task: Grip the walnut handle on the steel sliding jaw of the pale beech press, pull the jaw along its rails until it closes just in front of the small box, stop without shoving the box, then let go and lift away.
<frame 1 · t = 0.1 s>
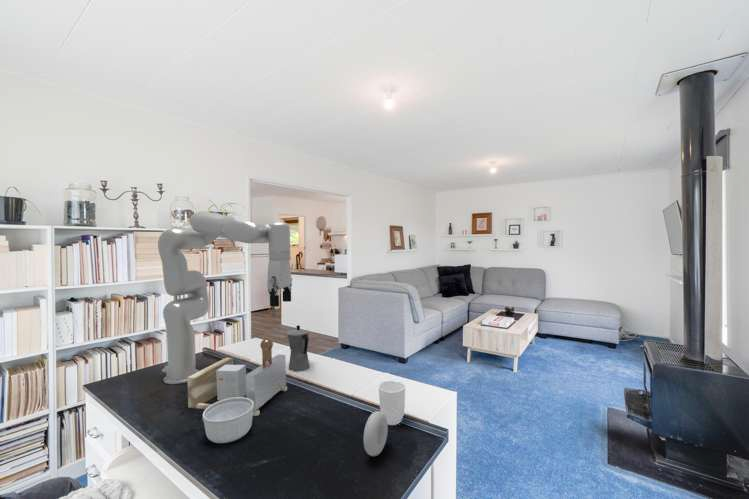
hand: (281, 303, 118), 31 cm above the counter, tool pointing down, fingers open, 9 cm apart
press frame: (242, 398, 112), on the counter
small box: (232, 397, 113), resting in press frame
light grey round disc: (376, 453, 82), on the counter
coffeepot: (300, 368, 138), on the counter
ramekin: (229, 433, 92), on the counter
sliding jaw: (267, 367, 109), point 11 cm above the counter, slide at 0.0 cm
white cup: (392, 420, 97), on the counter
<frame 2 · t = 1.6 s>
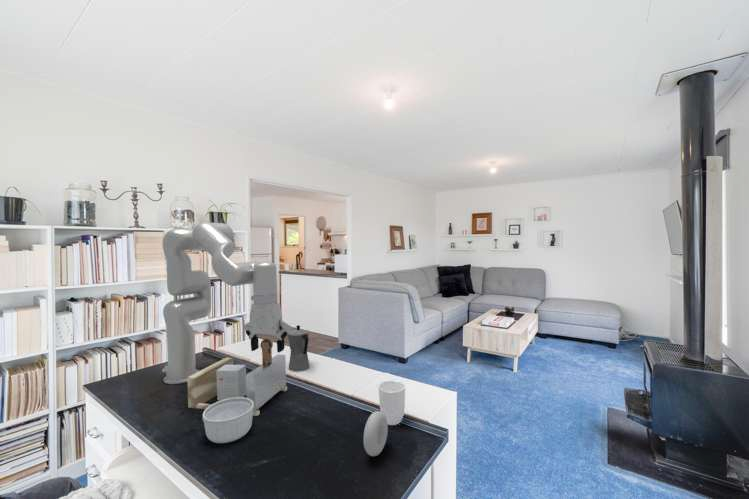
hand: (267, 350, 109), 17 cm above the counter, tool pointing down, fingers open, 9 cm apart
nothing on the counter moved.
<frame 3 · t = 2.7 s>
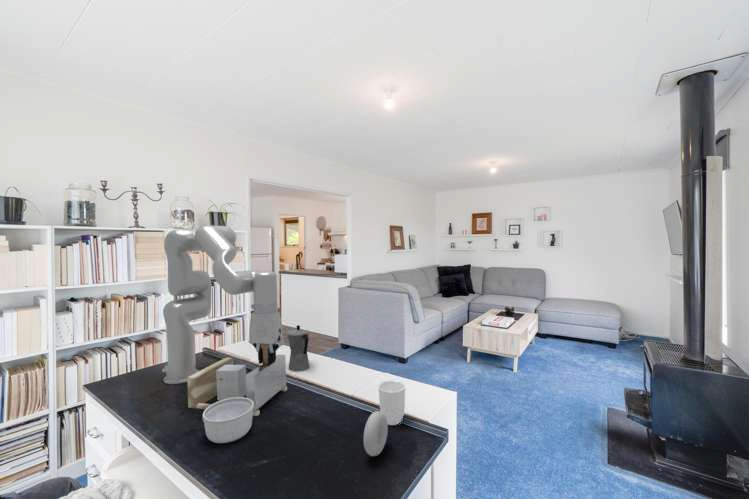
hand: (267, 362, 109), 13 cm above the counter, tool pointing down, fingers closed on sliding jaw, 3 cm apart
sliding jaw: (267, 367, 109), point 11 cm above the counter, slide at 0.0 cm, touching gripper
everything else where it was.
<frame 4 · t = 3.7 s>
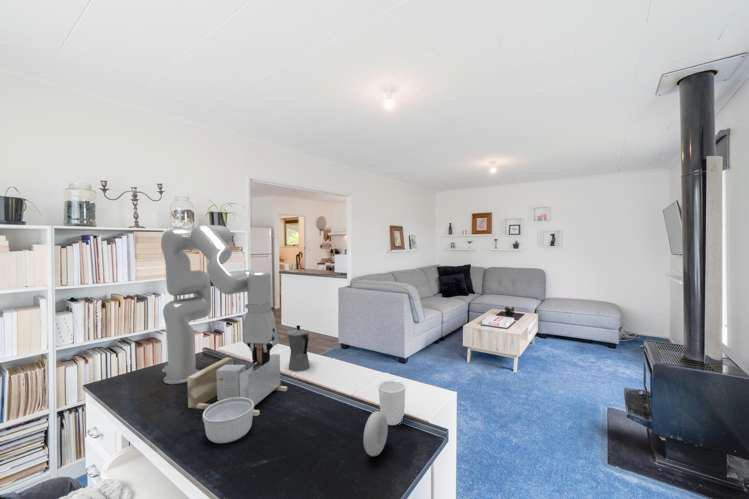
hand: (261, 361, 110), 13 cm above the counter, tool pointing down, fingers closed on sliding jaw, 3 cm apart
sliding jaw: (261, 367, 110), point 11 cm above the counter, slide at 2.3 cm, touching gripper
everything else where it was.
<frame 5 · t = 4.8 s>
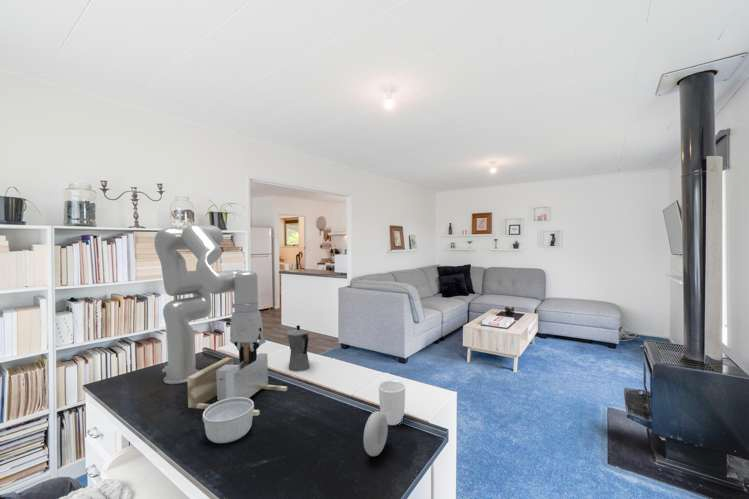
hand: (248, 360, 111), 13 cm above the counter, tool pointing down, fingers closed on sliding jaw, 3 cm apart
sliding jaw: (248, 366, 111), point 11 cm above the counter, slide at 7.4 cm, touching gripper
everything else where it was.
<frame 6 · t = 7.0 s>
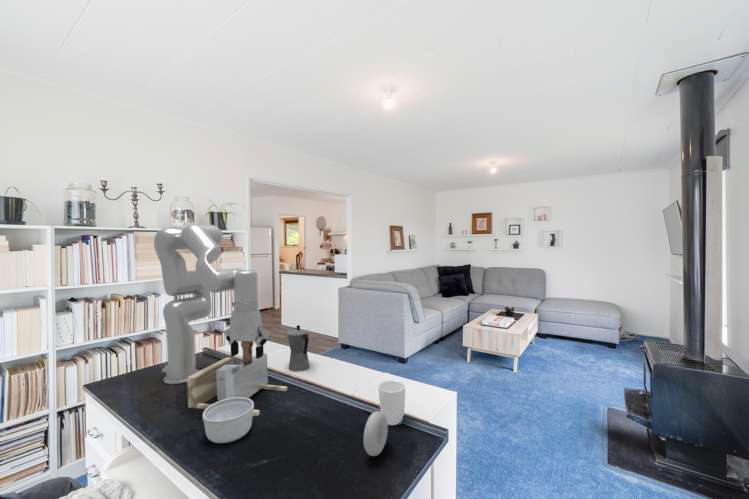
hand: (247, 356, 111), 15 cm above the counter, tool pointing down, fingers open, 9 cm apart
sliding jaw: (247, 366, 111), point 11 cm above the counter, slide at 7.5 cm
everything else where it was.
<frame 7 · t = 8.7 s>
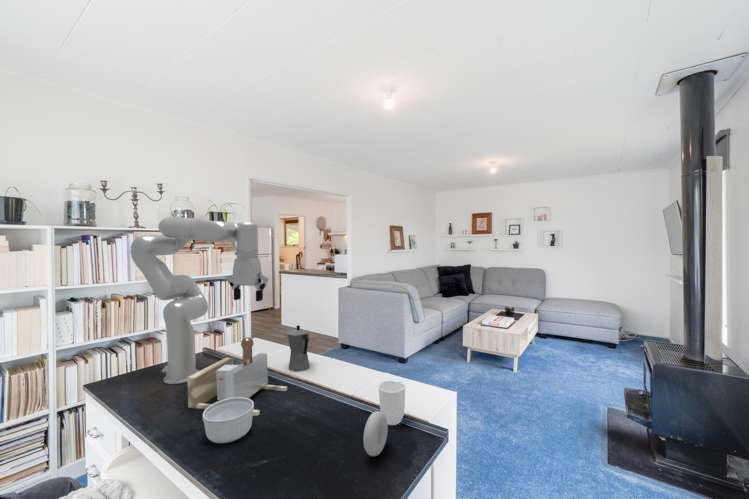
hand: (248, 300, 123), 32 cm above the counter, tool pointing down, fingers open, 9 cm apart
nothing on the counter moved.
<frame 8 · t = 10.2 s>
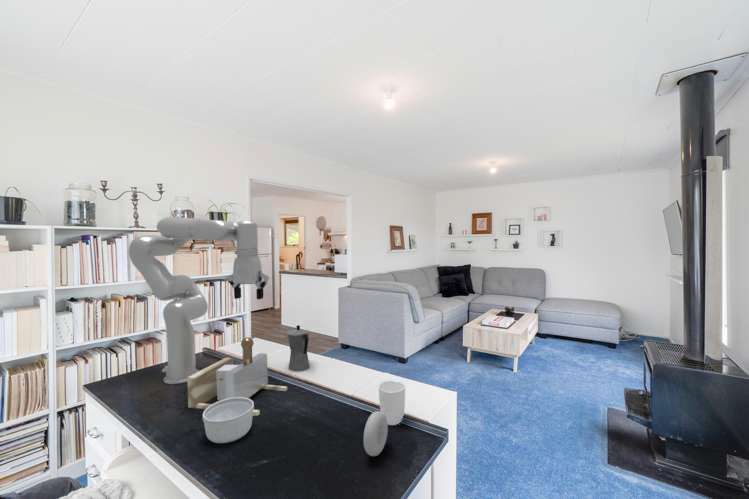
hand: (248, 298, 124), 32 cm above the counter, tool pointing down, fingers open, 9 cm apart
nothing on the counter moved.
at the end: sliding jaw slide at 7.5 cm; small box moved 0.3 cm from its start; small box tilted 0° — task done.
